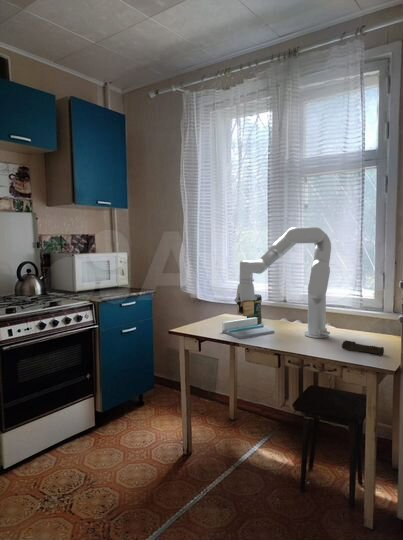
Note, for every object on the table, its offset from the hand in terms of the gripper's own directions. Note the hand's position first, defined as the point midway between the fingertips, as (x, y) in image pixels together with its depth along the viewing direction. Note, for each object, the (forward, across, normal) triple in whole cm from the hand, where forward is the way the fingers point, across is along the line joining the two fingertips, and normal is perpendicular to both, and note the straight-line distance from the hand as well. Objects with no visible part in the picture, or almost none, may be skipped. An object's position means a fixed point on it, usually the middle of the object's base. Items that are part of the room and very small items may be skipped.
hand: (245, 311), depth 226 cm
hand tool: (+11, -24, +62) cm, 67 cm away
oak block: (+2, 0, 0) cm, 2 cm away
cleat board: (+12, -1, +2) cm, 12 cm away
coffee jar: (+12, -19, -16) cm, 27 cm away
